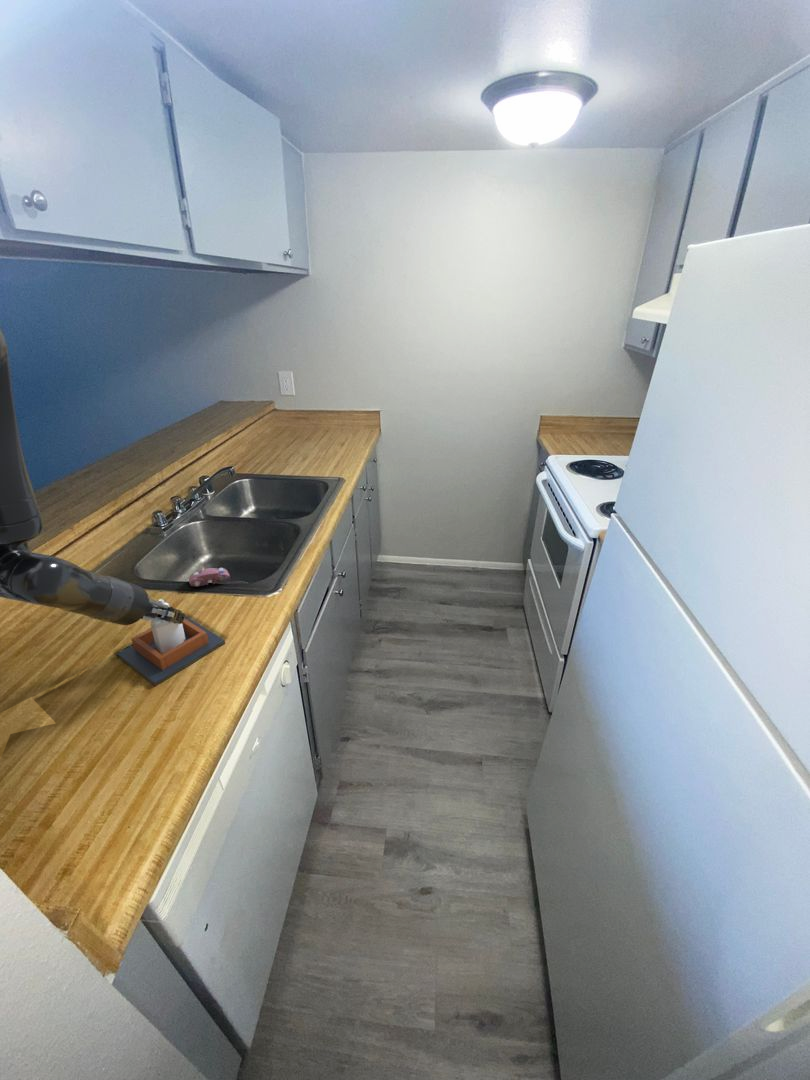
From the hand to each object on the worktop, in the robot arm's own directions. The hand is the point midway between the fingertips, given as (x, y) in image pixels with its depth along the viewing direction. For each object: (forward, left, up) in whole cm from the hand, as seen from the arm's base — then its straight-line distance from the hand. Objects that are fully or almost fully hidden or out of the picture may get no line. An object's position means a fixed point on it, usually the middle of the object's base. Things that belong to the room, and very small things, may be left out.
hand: (172, 616), depth 99 cm
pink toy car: (+18, +15, -8) cm, 25 cm away
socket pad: (-2, 0, -8) cm, 8 cm away
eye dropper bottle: (-2, -1, -7) cm, 7 cm away
